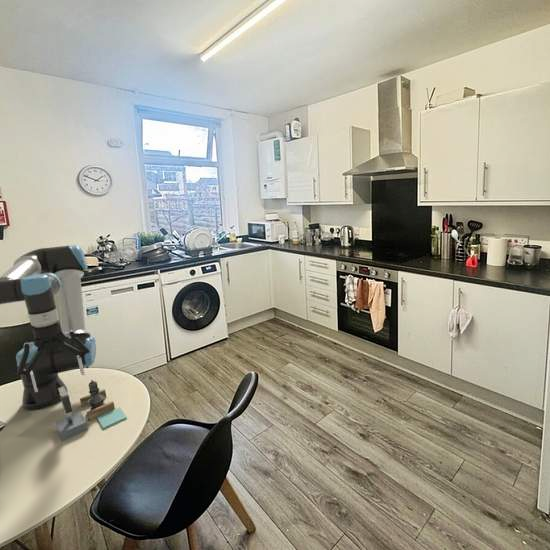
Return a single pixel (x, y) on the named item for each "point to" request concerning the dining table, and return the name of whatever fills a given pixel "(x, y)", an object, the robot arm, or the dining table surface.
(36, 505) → the dining table surface
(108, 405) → the block
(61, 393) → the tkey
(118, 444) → the dining table surface
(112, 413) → the coaster
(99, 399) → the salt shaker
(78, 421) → the block
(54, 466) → the dining table surface
